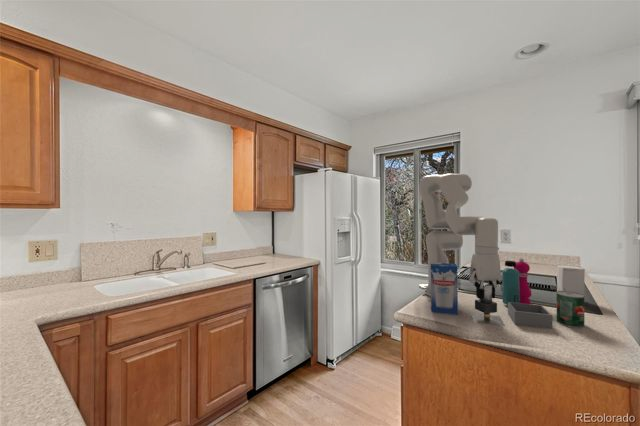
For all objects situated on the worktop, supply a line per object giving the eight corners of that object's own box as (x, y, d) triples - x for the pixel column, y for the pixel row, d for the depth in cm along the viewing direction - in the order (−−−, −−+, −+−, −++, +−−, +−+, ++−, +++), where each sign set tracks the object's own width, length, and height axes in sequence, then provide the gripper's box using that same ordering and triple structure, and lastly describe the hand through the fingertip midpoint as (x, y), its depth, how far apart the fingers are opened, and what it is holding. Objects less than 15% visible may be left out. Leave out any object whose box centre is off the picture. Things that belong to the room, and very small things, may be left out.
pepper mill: (525, 299, 133) (525, 257, 133) (535, 305, 126) (535, 259, 126) (508, 299, 134) (508, 257, 134) (518, 304, 127) (517, 259, 126)
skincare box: (561, 301, 130) (561, 267, 129) (556, 297, 136) (556, 264, 136) (585, 303, 127) (585, 268, 126) (578, 299, 133) (578, 266, 132)
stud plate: (473, 324, 106) (473, 314, 106) (470, 314, 116) (470, 305, 116) (505, 328, 102) (505, 317, 102) (499, 318, 112) (499, 308, 112)
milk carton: (431, 313, 117) (430, 265, 117) (430, 308, 123) (430, 262, 123) (458, 316, 114) (457, 266, 114) (456, 311, 120) (456, 263, 119)
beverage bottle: (514, 310, 119) (514, 263, 119) (498, 306, 125) (498, 260, 125) (523, 308, 122) (523, 261, 122) (507, 303, 128) (507, 259, 128)
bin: (514, 326, 103) (514, 311, 103) (507, 316, 114) (507, 302, 114) (552, 331, 99) (552, 315, 99) (541, 319, 109) (541, 305, 109)
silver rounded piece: (474, 308, 112) (474, 283, 111) (486, 307, 113) (486, 282, 112) (485, 313, 106) (485, 286, 106) (497, 312, 108) (496, 285, 107)
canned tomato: (587, 329, 100) (587, 298, 100) (558, 325, 104) (558, 295, 104) (581, 321, 107) (581, 292, 107) (554, 317, 111) (554, 289, 111)
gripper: (496, 247, 114) (495, 293, 115) (460, 249, 111) (459, 296, 111) (512, 251, 107) (512, 299, 108) (474, 253, 103) (474, 303, 104)
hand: (485, 297), depth 110 cm, fingers closed on silver rounded piece, 4 cm apart
